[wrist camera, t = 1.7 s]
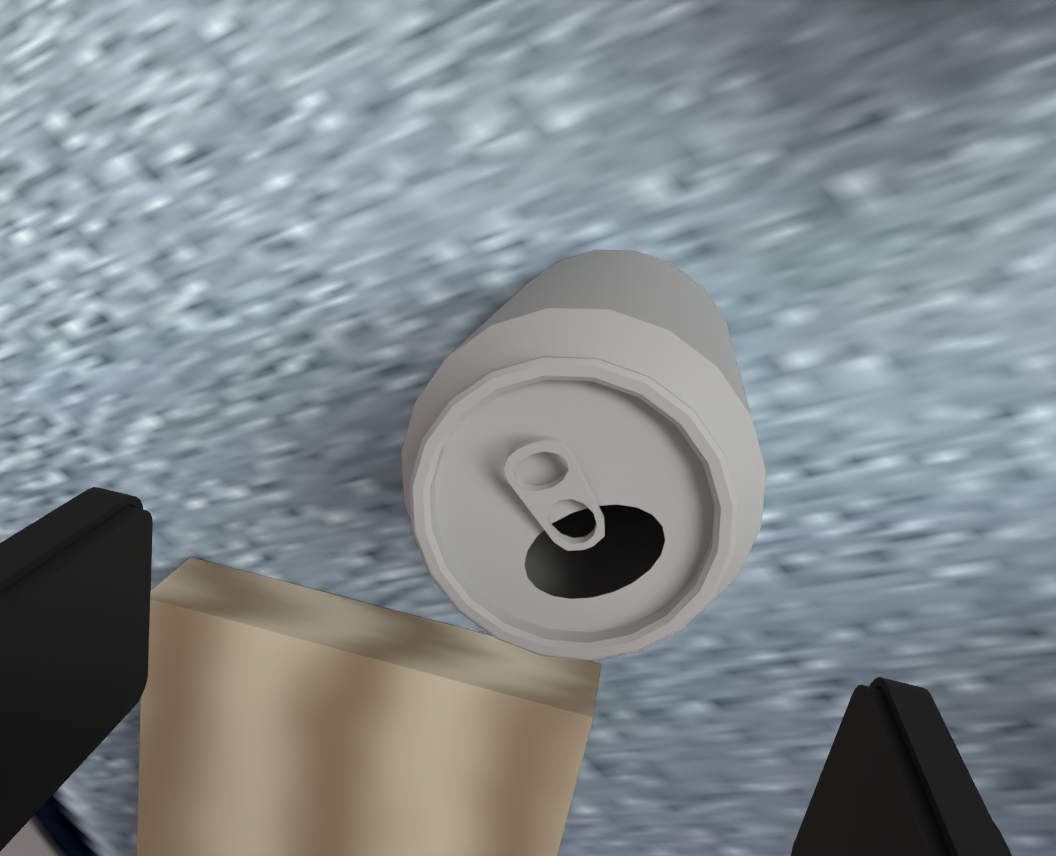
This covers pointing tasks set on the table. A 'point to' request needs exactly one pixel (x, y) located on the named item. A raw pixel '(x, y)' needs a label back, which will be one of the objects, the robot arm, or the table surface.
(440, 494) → the can
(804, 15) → the table surface
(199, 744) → the plinth
